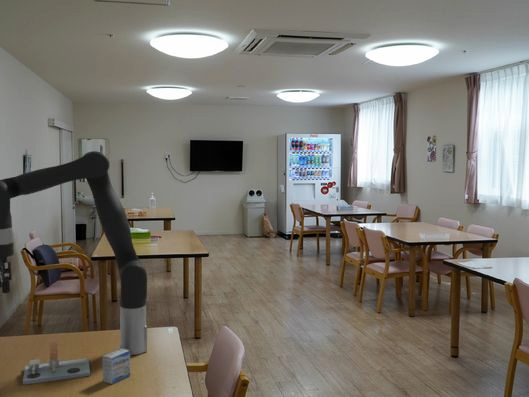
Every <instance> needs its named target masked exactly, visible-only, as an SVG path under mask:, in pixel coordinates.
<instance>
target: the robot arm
mask: <svg viewBox="0 0 529 397" xmlns="http://www.w3.org/2000/svg"><path fill="white" fill-rule="evenodd" d="M109 160H110V159H109V158H108V157H107V156H106V155H105V154H104V153H103V152H101V151H95V150H93V151H89V152H86V153H84V154H83V155H82V157H79V158H77V159H75V160H73V161H69V162H67V163H62V164H59V165H54V166H53V165H52V166H49V167H44V168H40V169H35V170H33V171H29V172H24V173H21V174H18V175H17V176H13V177H7V178H2V179H0V289H1V293H2V294H8V293H10V292H11V287H10V285H11V284H10V282H11V281H12V270H11V267H12V266H11V261H8V257H11V256H14V255H15V247H14V246H15V245H14V231H13V219H12V213H11V199H12V198H17V197H19V196H26V195H31V194H35V193H38V192H41V191H44V190H48V189H50V188H51V189H52V188H53V187H56V186H60V185H63V184H67V183H69V182H73V181H78V180H79V181H80V180H83V179H85V180H86V182H87V184H88V187H89V189H90V191H91V193H92V194H91V195H92V198H93V202H94V206H95V210H96V213H97V217H98V219H99V222H100V225H101V229H102V231H103V233H104V235H105V239H106V240H107V241H108V244H109V246H110V247H111V249H112V251H113V254H114V257H115V262H116V266H117V270H118V275H119V279H120V298H119V315H120V316H119V318H120V319H119V321H120V323H119V327H120V328H119V329H120V331H119V333H120V348H119V349H121V348H122V349H126V350H129V351H130V356H134V355H135V356H136V355H140V354H143V353H147V352H148V326H147V297H148V274H147V271H146V268H145V267H144V266H143V264H142V263H141V260H140V259H139V257H138V254H137V252H136V249H135V248H134V243H133V238H132V233H131V232H132V231H131V226H130V224H129V219H128V217H127V215H126V212H125V209H124V206H123V204H122V202H121V201H120V198H119V197H118V195H117V193H116V191H115V189H114V187H113V185H112V183H111V179H110V175H109V169H110V161H109Z"/></svg>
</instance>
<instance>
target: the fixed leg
mask: <svg viewBox="0 0 529 397" xmlns="http://www.w3.org/2000/svg"><path fill="white" fill-rule="evenodd" d="M40 361H41V360H40V358H38V359H37V358H36V359H29V362H28V366H29V371H32V375H33V376H34V375H35V370H39V367H40V364H41V362H40Z"/></svg>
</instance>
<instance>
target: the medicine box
mask: <svg viewBox="0 0 529 397" xmlns="http://www.w3.org/2000/svg"><path fill="white" fill-rule="evenodd" d="M101 358H102V381H103V382H104V383H107V384H111V385H114V384H116V383H118V382H120V381H122V380H124V379H126V378H128V377H130V376H131V355H130V351H129V350H126V349H122V348H119V349H117V350H114V351H112V352H109V353H106V354H103V355H102V357H101Z"/></svg>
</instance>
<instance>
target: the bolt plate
mask: <svg viewBox="0 0 529 397" xmlns="http://www.w3.org/2000/svg"><path fill="white" fill-rule="evenodd" d="M89 361H90V360H89V358H80V359H79V358H78V359H71V360H63V361H59V366H55V372H54V373H53V372H52V367H49V362H48V363H40V367H39V370H35V375H34V376H33V375H32V371H29V365H25V366H24V372H23V376H22V377H23V378H22V386H25V385H31V384H39V383H40V384H41V383H45V382H47V383H48V382H54V381H60V380H68V379H77V378H82V377H83V378H84V377H90V376H91V371H90V370H91V369H90V362H89Z"/></svg>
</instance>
